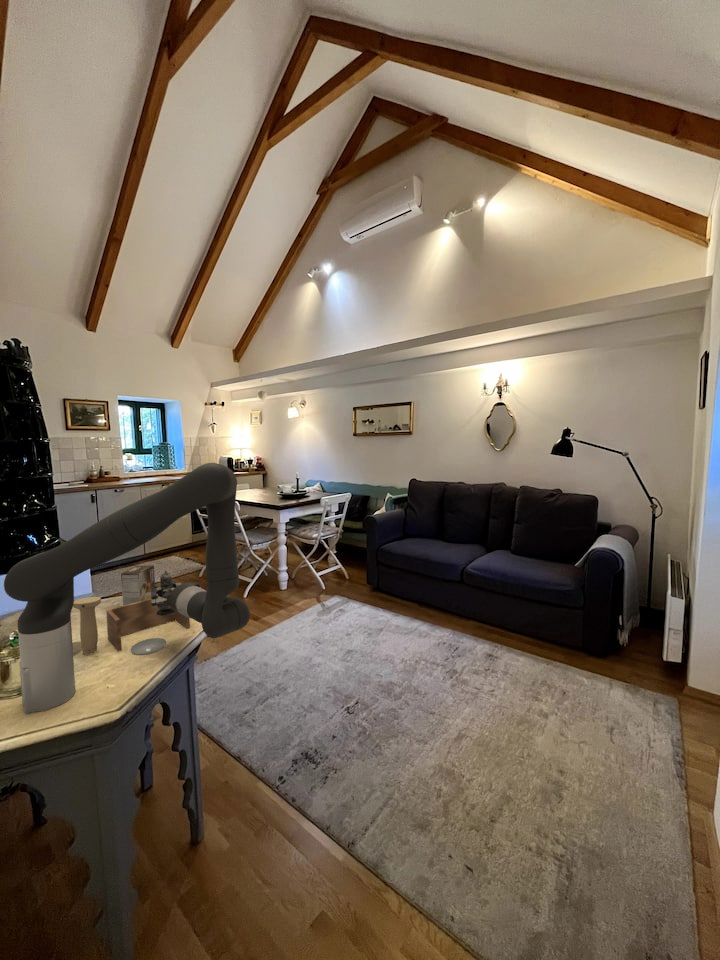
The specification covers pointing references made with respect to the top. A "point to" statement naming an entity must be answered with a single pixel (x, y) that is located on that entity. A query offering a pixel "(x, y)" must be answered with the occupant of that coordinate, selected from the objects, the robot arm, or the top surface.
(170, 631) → the top surface
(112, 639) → the walnut cubby
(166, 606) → the grey metal upright piece
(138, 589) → the coffee box
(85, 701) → the top surface
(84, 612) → the turned wooden grip
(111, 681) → the top surface
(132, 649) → the coaster
